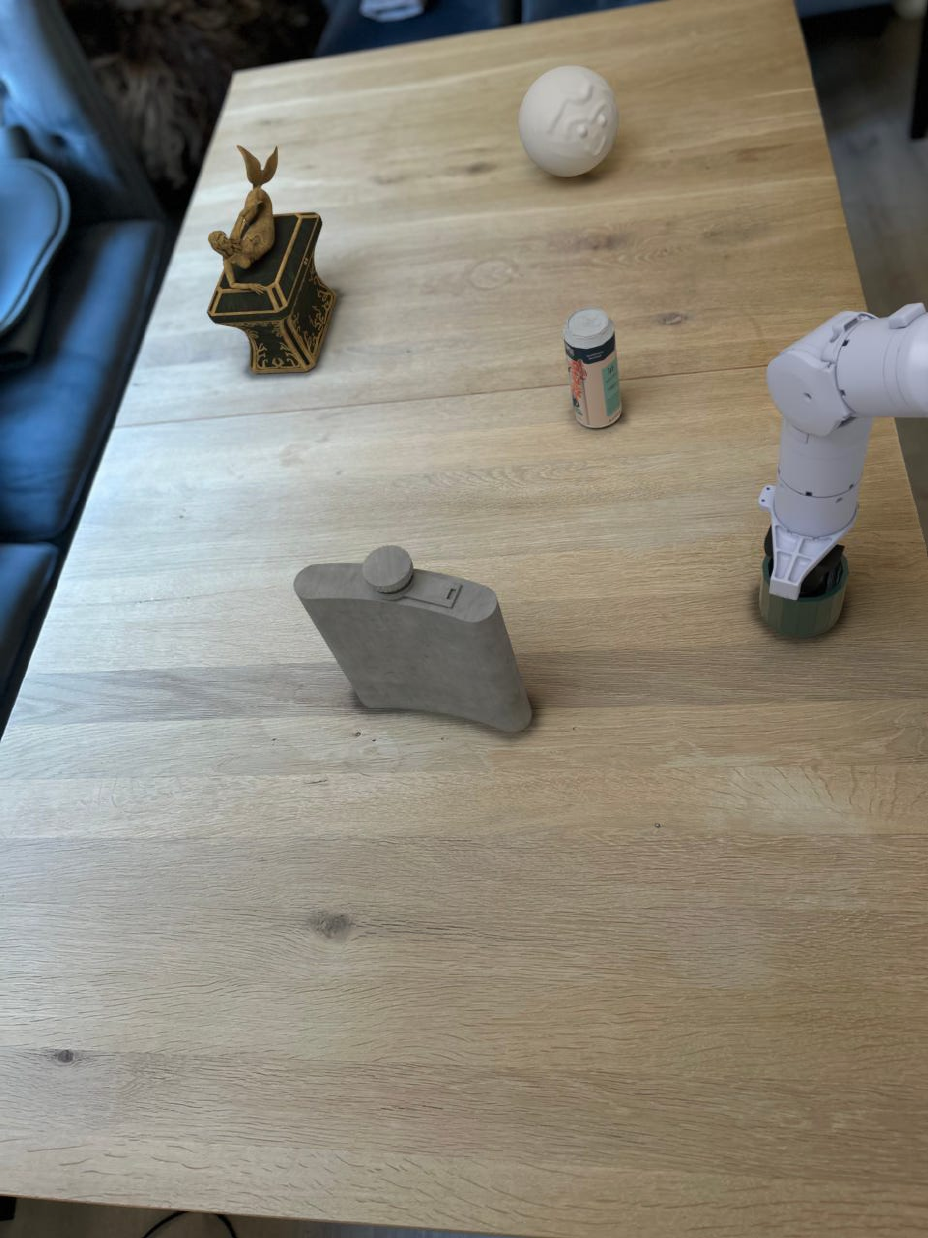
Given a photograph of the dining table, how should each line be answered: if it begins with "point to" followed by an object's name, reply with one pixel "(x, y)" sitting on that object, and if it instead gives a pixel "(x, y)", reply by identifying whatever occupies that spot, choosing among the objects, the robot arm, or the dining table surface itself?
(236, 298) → the decorative box
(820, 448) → the robot arm
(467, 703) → the hip flask
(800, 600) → the pot
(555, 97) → the decorative ball
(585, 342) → the beer can
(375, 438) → the dining table surface
